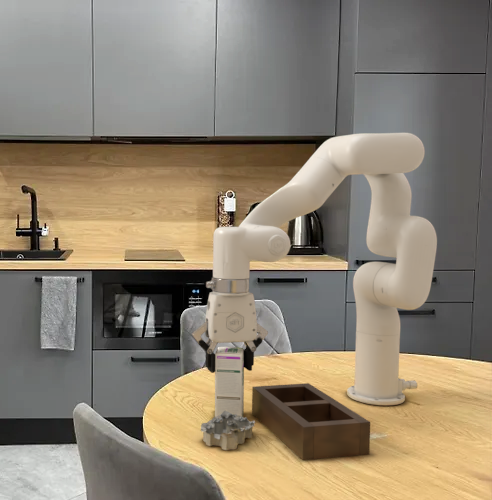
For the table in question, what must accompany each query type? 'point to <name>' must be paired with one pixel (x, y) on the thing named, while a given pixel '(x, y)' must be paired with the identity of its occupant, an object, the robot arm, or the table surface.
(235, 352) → the syrup box
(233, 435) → the egg carton
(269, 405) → the holder
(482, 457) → the table surface
